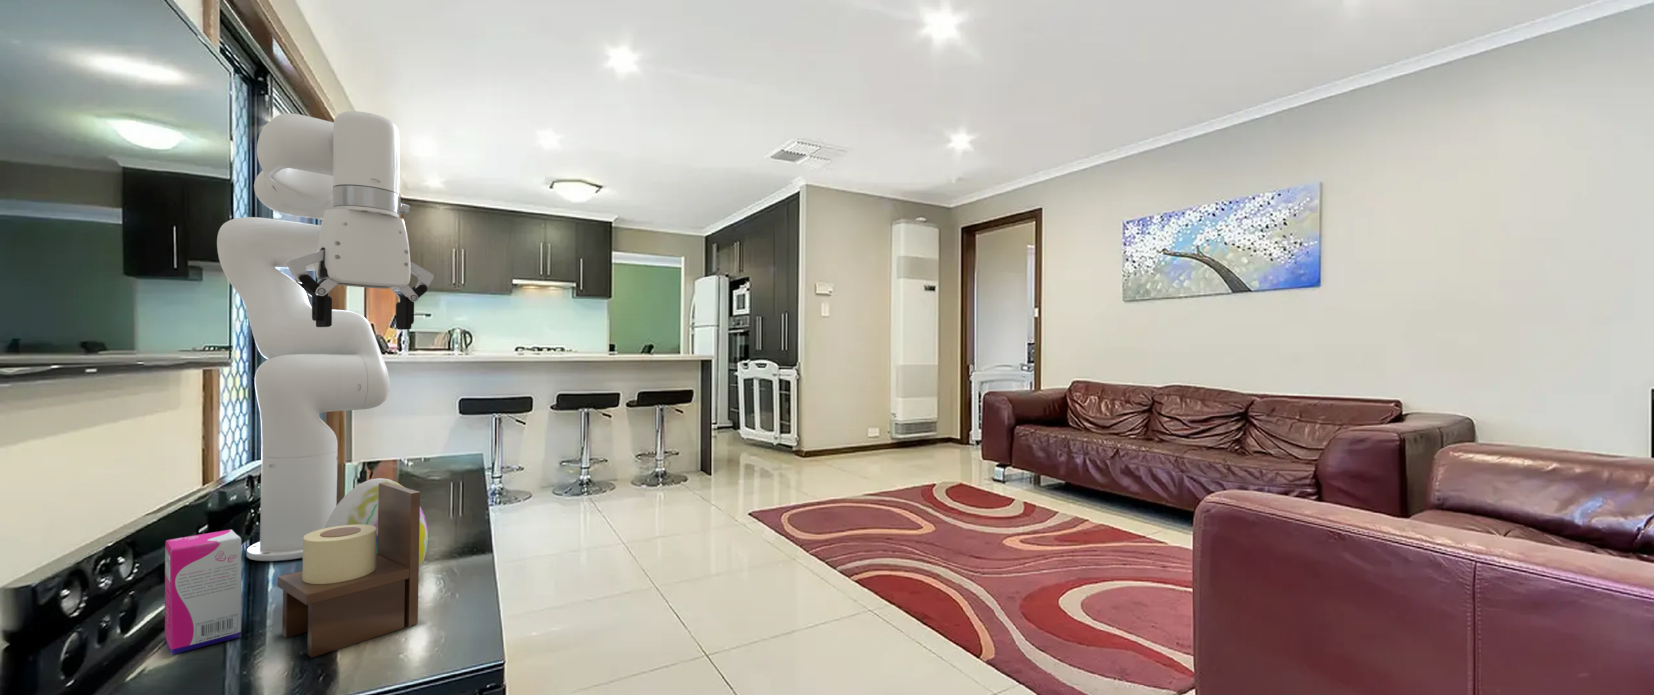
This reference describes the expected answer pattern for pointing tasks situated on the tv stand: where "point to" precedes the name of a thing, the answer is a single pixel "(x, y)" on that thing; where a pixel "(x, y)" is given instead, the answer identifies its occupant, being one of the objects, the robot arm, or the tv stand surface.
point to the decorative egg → (370, 512)
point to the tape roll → (339, 553)
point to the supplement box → (202, 590)
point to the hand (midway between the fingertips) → (365, 328)
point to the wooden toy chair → (362, 585)
